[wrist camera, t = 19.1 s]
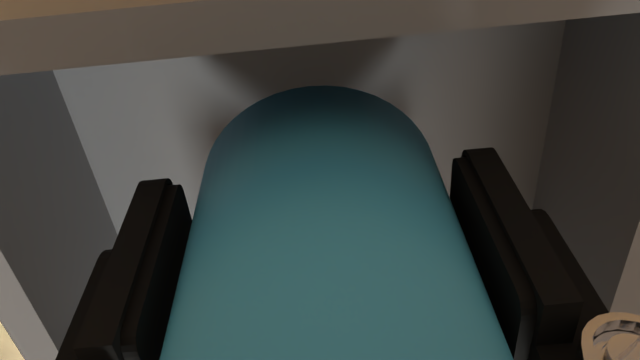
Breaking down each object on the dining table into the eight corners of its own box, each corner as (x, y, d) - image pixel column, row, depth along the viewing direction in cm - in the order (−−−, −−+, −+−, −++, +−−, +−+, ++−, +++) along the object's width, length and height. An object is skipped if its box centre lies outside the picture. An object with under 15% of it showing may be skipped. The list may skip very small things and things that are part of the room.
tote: (513, 384, 22) (565, 520, 18) (175, 414, 22) (149, 556, 18) (612, -109, 12) (786, -58, 8) (-18, -45, 12) (-180, 38, 8)
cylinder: (431, 264, 13) (539, 621, 7) (227, 283, 13) (177, 652, 8) (440, 73, 10) (625, 414, 5) (178, 98, 10) (39, 467, 5)
